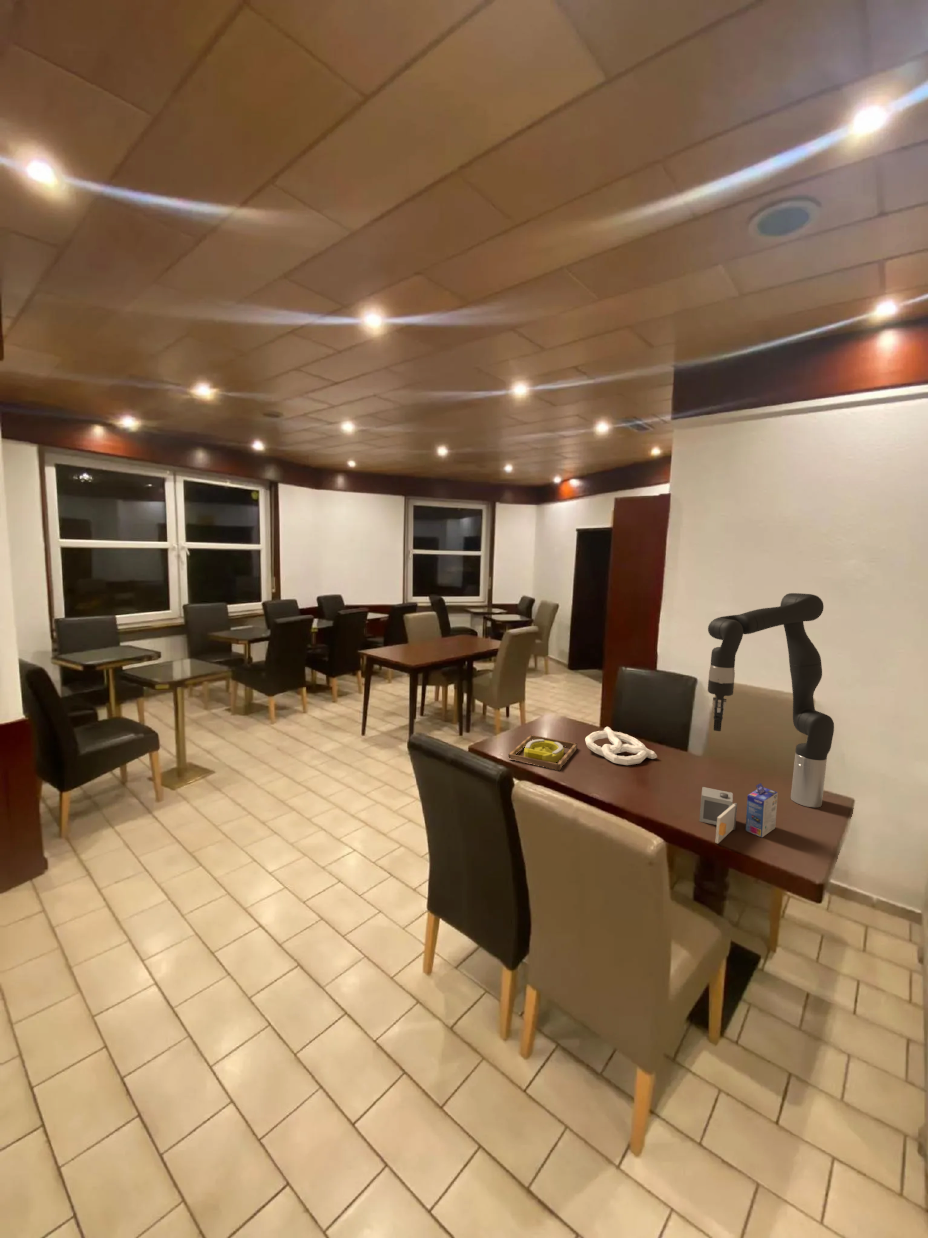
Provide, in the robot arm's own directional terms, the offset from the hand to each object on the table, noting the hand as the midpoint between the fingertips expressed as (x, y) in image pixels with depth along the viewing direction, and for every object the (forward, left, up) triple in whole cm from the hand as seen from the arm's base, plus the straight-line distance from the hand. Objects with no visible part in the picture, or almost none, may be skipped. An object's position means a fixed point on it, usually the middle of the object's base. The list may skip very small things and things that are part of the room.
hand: (717, 730), depth 168 cm
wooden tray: (-21, -66, -29) cm, 75 cm away
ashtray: (-19, -66, -30) cm, 74 cm away
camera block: (+4, +1, -29) cm, 29 cm away
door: (+14, +5, -29) cm, 32 cm away
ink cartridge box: (+4, +14, -29) cm, 33 cm away
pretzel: (-38, -38, -29) cm, 61 cm away
